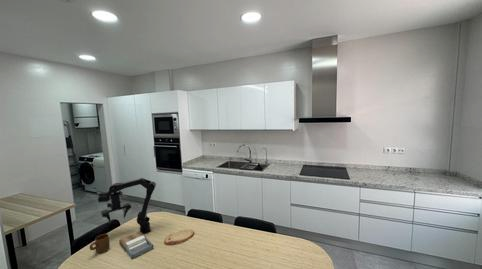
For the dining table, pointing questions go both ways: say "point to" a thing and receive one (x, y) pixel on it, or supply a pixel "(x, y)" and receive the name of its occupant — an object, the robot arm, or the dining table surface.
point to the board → (129, 239)
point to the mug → (101, 243)
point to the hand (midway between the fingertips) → (117, 220)
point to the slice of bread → (179, 237)
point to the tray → (140, 250)
